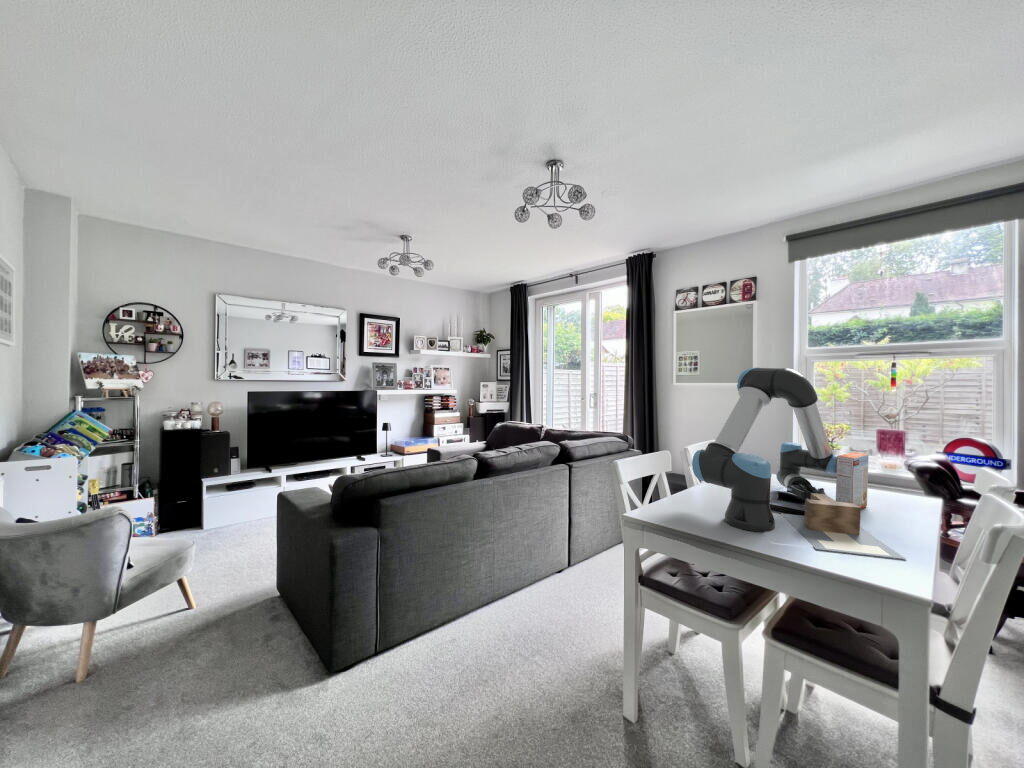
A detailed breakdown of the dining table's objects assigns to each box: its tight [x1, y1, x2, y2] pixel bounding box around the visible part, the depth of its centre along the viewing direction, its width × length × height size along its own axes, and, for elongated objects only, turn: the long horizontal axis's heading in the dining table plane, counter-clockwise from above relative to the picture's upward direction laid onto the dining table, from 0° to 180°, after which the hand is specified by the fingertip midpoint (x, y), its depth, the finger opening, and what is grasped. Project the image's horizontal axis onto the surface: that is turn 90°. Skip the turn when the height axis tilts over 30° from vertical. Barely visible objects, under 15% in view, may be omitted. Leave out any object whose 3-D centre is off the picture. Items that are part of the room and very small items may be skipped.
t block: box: [804, 493, 862, 535], centre depth 146 cm, size 14×14×9 cm
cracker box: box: [835, 451, 869, 509], centre depth 166 cm, size 14×6×21 cm, turn 122°
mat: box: [780, 513, 906, 560], centre depth 139 cm, size 22×32×1 cm
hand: (823, 502), depth 152 cm, fingers closed
